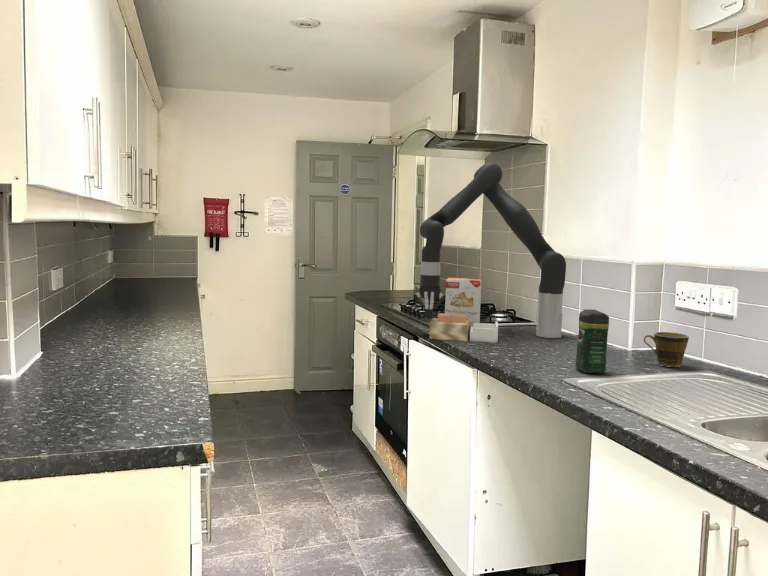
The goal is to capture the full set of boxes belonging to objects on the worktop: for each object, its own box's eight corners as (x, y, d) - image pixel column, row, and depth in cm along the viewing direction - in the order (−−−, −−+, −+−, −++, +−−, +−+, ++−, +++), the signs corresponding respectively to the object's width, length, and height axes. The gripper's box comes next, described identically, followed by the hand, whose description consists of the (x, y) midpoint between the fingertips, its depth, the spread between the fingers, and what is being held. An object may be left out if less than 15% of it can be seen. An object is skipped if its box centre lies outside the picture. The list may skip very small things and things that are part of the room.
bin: (496, 336, 235) (497, 321, 235) (497, 342, 224) (498, 326, 223) (470, 335, 237) (471, 320, 236) (469, 341, 225) (470, 325, 225)
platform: (468, 335, 237) (468, 320, 237) (467, 341, 225) (467, 324, 225) (432, 333, 239) (432, 318, 239) (429, 338, 228) (429, 322, 227)
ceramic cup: (682, 363, 198) (685, 333, 197) (689, 370, 188) (692, 338, 187) (639, 360, 201) (642, 330, 200) (644, 366, 192) (646, 335, 190)
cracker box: (443, 329, 249) (445, 278, 247) (445, 326, 255) (447, 277, 253) (478, 331, 246) (480, 280, 243) (479, 329, 252) (481, 278, 249)
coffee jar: (609, 375, 179) (613, 312, 177) (582, 374, 179) (586, 312, 177) (597, 367, 189) (602, 308, 187) (572, 366, 189) (576, 307, 187)
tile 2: (465, 321, 233) (466, 314, 233) (465, 323, 228) (465, 316, 228) (452, 320, 234) (453, 314, 234) (452, 322, 229) (452, 316, 229)
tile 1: (451, 320, 234) (451, 314, 234) (450, 322, 229) (451, 315, 229) (438, 319, 235) (438, 313, 235) (437, 321, 230) (437, 315, 230)
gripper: (448, 273, 234) (446, 318, 236) (414, 272, 236) (412, 316, 238) (447, 275, 226) (445, 321, 228) (411, 273, 229) (410, 319, 230)
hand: (428, 318), depth 233 cm, fingers closed
